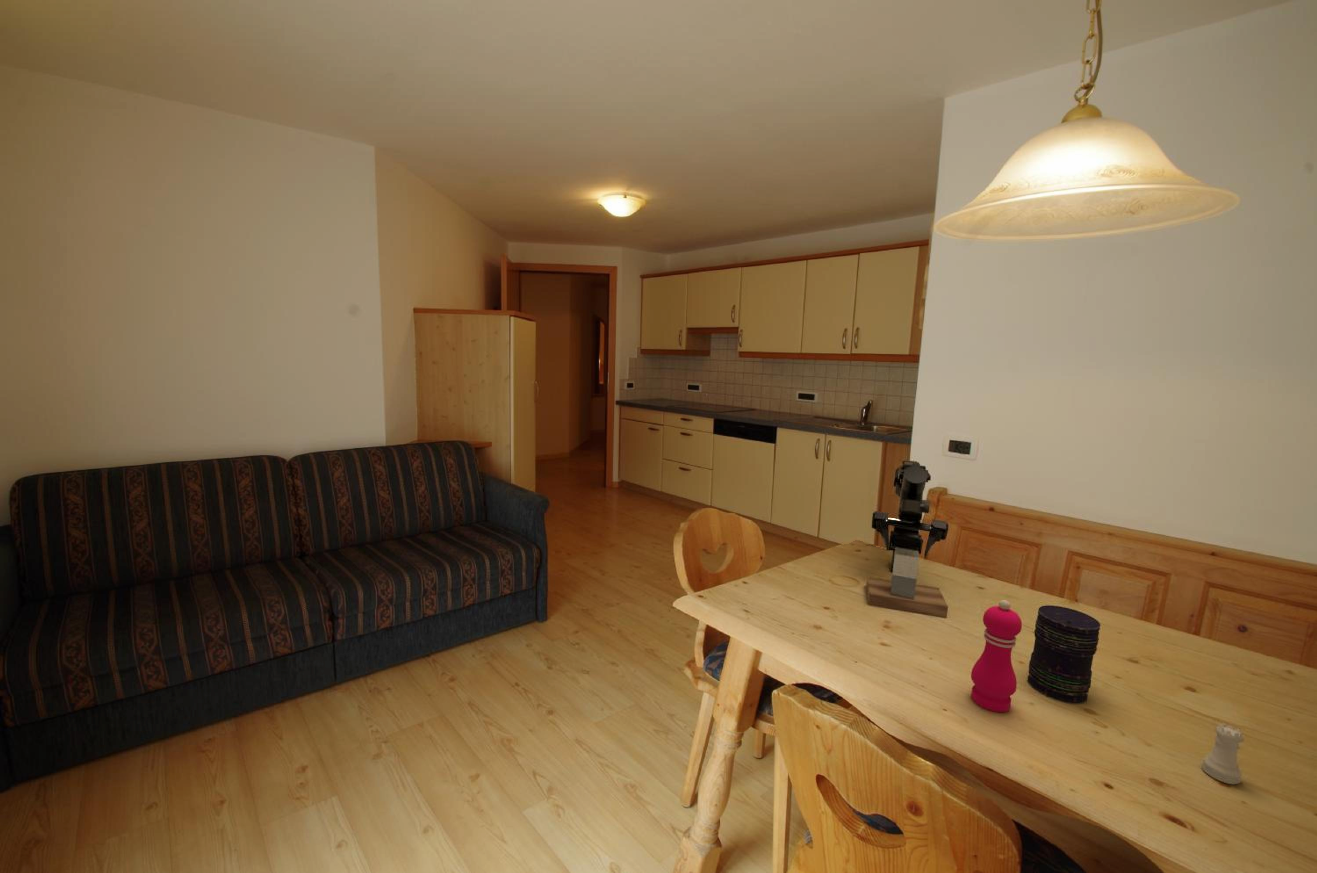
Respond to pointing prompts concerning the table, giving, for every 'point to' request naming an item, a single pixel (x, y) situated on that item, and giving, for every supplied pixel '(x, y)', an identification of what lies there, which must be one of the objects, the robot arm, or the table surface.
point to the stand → (923, 603)
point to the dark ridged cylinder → (1063, 653)
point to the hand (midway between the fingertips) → (906, 553)
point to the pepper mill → (996, 659)
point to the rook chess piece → (1224, 755)
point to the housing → (904, 573)
